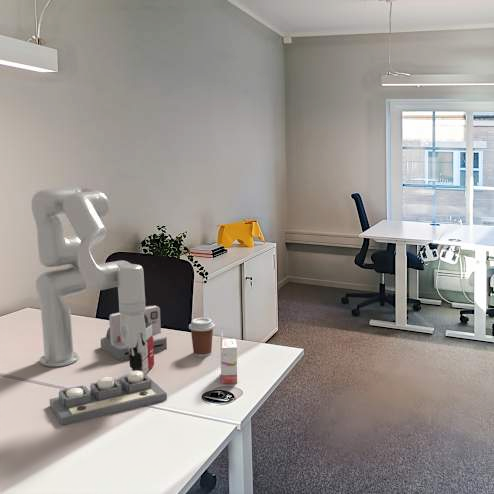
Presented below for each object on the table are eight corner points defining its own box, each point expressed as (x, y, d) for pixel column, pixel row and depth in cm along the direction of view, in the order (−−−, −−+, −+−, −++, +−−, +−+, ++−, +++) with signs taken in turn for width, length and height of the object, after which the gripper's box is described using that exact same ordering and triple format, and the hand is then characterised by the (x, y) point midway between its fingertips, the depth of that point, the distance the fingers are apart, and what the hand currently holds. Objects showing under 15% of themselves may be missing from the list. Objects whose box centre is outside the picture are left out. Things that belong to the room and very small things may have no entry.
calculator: (143, 378, 188) (141, 333, 185) (130, 377, 189) (128, 332, 186) (155, 365, 199) (153, 322, 196) (143, 365, 200) (141, 322, 197)
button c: (125, 380, 177) (125, 372, 177) (140, 377, 180) (139, 369, 179) (130, 385, 173) (130, 377, 173) (145, 382, 176) (145, 374, 175)
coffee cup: (186, 350, 213) (185, 318, 211) (210, 347, 216) (210, 315, 214) (193, 359, 204) (192, 325, 202) (218, 355, 207) (218, 322, 205)
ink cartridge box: (238, 383, 183) (237, 338, 181) (222, 384, 183) (221, 338, 180) (236, 372, 192) (235, 329, 189) (220, 373, 191) (219, 329, 189)
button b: (95, 386, 173) (95, 379, 172) (111, 383, 175) (110, 375, 175) (100, 392, 169) (100, 384, 168) (116, 388, 171) (115, 381, 171)
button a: (64, 398, 168) (64, 390, 168) (81, 394, 171) (80, 386, 170) (69, 404, 165) (68, 395, 164) (85, 400, 167) (85, 392, 166)
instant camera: (112, 362, 202) (110, 320, 200) (97, 345, 220) (95, 306, 218) (171, 352, 212) (169, 311, 210) (151, 335, 230) (150, 298, 227)
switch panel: (49, 405, 169) (48, 390, 168) (148, 383, 184) (148, 369, 184) (62, 425, 157) (60, 409, 157) (166, 399, 172) (166, 385, 172)
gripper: (111, 303, 177) (115, 362, 180) (128, 314, 164) (132, 377, 167) (135, 299, 181) (139, 357, 184) (154, 310, 168) (157, 372, 171)
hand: (135, 367), depth 175 cm, fingers closed
